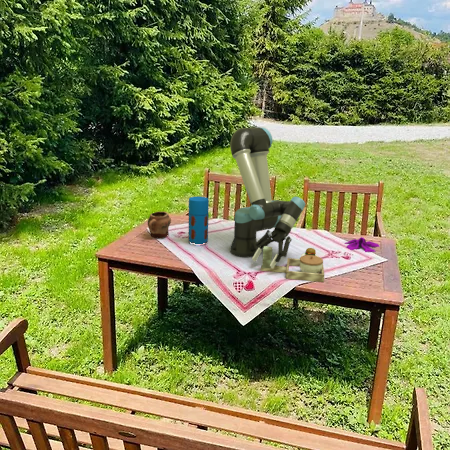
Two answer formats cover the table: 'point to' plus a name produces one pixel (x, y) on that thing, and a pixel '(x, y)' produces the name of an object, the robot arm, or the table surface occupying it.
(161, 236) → the decorative planter
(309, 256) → the lidded jar
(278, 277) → the table surface
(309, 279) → the pull frame
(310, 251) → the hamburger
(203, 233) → the thermos
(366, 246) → the cloth
